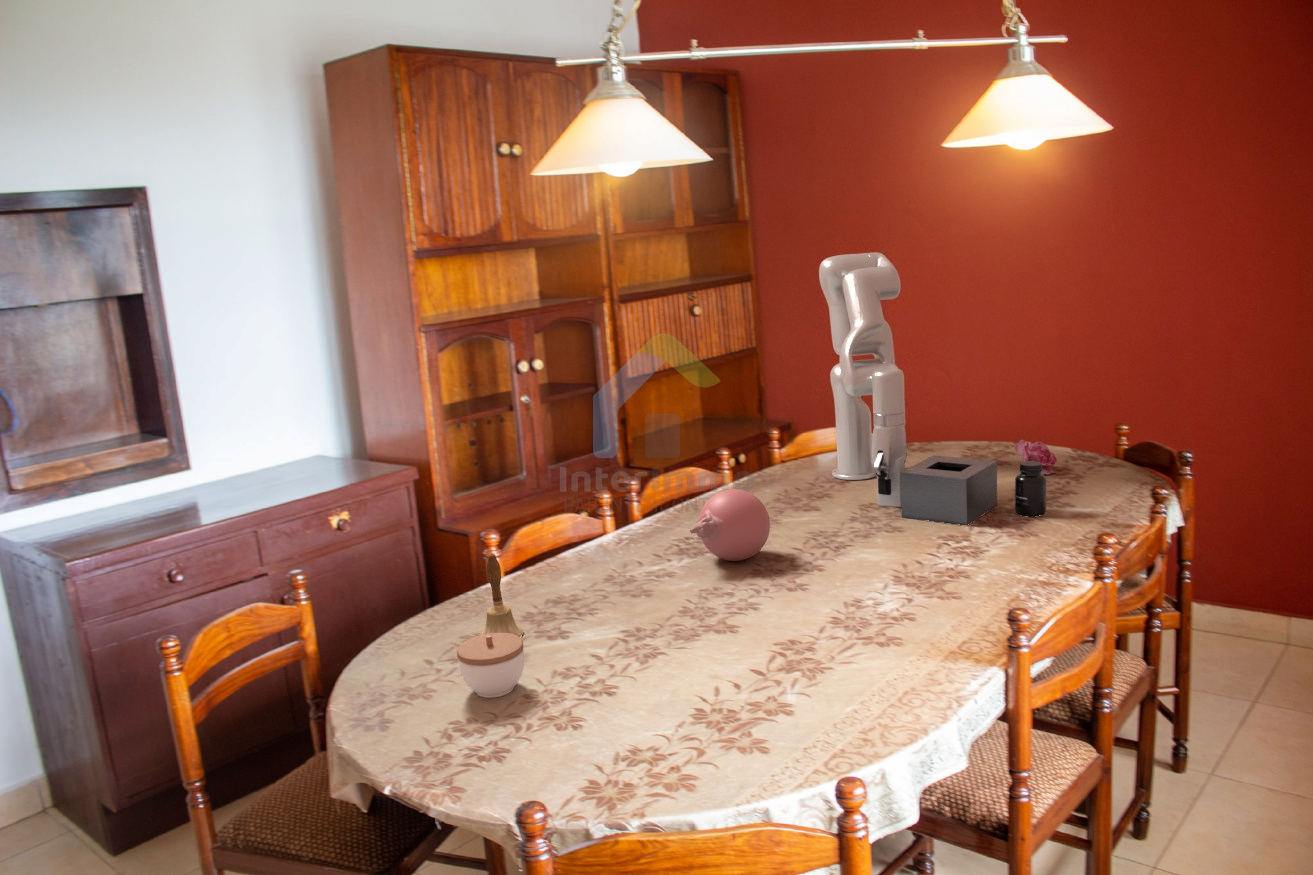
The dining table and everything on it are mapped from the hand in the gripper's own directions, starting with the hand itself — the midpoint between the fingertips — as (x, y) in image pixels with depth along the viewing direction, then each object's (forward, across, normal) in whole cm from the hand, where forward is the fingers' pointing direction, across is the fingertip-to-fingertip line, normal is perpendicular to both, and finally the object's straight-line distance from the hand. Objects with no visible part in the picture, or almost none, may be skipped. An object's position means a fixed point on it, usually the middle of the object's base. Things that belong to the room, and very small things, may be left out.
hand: (891, 490), depth 253 cm
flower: (+4, -42, +21) cm, 47 cm away
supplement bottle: (+4, -6, +32) cm, 33 cm away
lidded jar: (+4, +122, -10) cm, 122 cm away
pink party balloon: (+4, +53, -12) cm, 54 cm away
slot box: (+4, 0, +15) cm, 15 cm away
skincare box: (+4, 0, 0) cm, 4 cm away
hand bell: (+4, +106, -26) cm, 109 cm away
